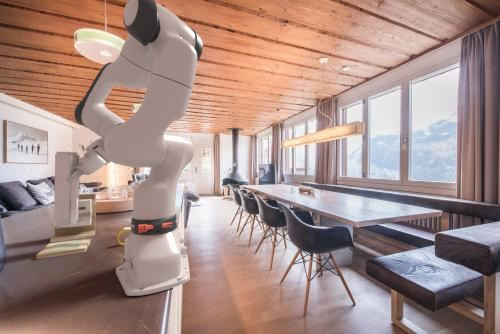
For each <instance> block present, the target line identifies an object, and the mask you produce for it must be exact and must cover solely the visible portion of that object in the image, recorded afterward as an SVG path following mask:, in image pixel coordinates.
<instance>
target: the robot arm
mask: <svg viewBox="0 0 500 334" xmlns="http://www.w3.org/2000/svg"><path fill="white" fill-rule="evenodd" d="M122 15H123V16H122V17H123V18H122V20H123V24H124V25H123V26H124V27H125V29H126V32H127V33H128V36H127V38H126V40H125V41H124V43H123V45H122V47H121V49H120V53H119V55H118V56H117V58H116V59H115V60H114V61H113V62H107V63H105V64H104V66H102V67H101V69H100V70H99V72H98V73H97V75H96V76H95V78H94V80H93V82H91V84H90V87H88V90H87V92H86V93H85V94H84V97H83V98H82V99H81V100H80V101H79V103H78V104H76V106H75V108H74V112H73V113H74V114H73V115H74V119H75V121H76V122H77V123H78V124H79V125H82V126H83V127H84V128H86V129H88V130H89V131H91V132H93V133H94V134H96V135H97V136H99V137H100V138H98V139H96V140H93V142H92V143H90V144H89V145H87V146H86V147H85V148H84V150H85V153H84V154H83V156H81V157H80V163H79V164H78V165H77V166H76V169H77V170H76V171H75V172H74V173H73V174H72V175H70V176H69V177H67V178H66V179H65V180H66V181H67V182H69V183H71V182H73V181H74V180H75V179H77V178H79V179H80V178H81V177H82V176H90V175H92V174H94V173H95V172H97V171H98V170H100V169H101V168H102V167H104V166H107V165H108V164H110V163H113V164H115V165H119V166H124V167H129V168H150V171H149V174H148V176H147V178H146V179H145V180H144V181H142V182H141V183H138V184H137V185H136V186H135V188H134V190H133V193H132V194H133V195H132V199H133V200H132V217H131V218H130V219H131V220H130V227H131V230H130V231H131V233H130V234H129V235H128V236H127V237H126V238H125V240H124V243H125V245H124V257H123V264H122V265H119V266H117V267H116V268H115V275H116V276H117V279H118V280H119V282H120V284H121V287H122V289H123V291H124V294H125V295H126V296H128V297H129V296H130V297H131V296H132V297H133V296H135V297H136V296H145V295H151V294H155V293H159V292H163V291H168V290H169V289H170V290H171V289H173V288H177V287H179V286H181V285H183V284H185V283H187V282H189V280H191V275H190V274H191V273H190V272H191V271H190V266H189V265H190V264H189V256H188V247H187V246H186V245H185V246H184V245H183V246H181V244H185V243H184V238H183V237H182V238H181V231H180V230H179V229H178V218H177V214H176V193H177V186H178V182H179V180H180V177H181V174H182V173H183V171H184V169H185V168H186V167H187V166H188V165H189V164H190V163H191V162H192V160H193V158H194V154H195V148H194V144H193V142H192V141H191V140H190V139H189V138H188V137H186V136H184V135H181V134H178V133H176V132H171V131H170V132H169V131H167V129H168V127H170V125H172V123H174V122H176V121H178V120H181V119H183V118H184V117H185V115H186V114H187V111H188V107H189V103H190V100H191V97H192V96H191V95H192V92H193V88H194V83H195V79H196V75H197V68H198V67H197V66H198V62H199V60H200V59H201V57H202V54H203V48H204V44H203V40H202V38H201V36H200V35H199V34H198V32H196V31H195V30H194V28H191V27H190V26H189V25H187V24H186V23H185V22H184V21H183V20H182V19H180V18H179V17H178V16H177V15H176V14H175V13H174V12H172V11H171V10H170V9H168V8H166V7H165V6H163V5H161V4H159V3H158V2H156V1H155V0H127V2H126V4H125V6H124V10H123V14H122ZM116 86H121V87H125V88H129V89H136V90H138V89H139V90H140V89H145V88H146V90H145V94H144V96H143V97H144V98H143V99H142V102H141V104H140V106H139V108H138V109H137V110H136V111H135V113H134V114H132V116H131V117H129V119H127V120H124V119H123V118H122V117H121V116H119V115H117V114H116V113H114V112H112V111H111V110H110V109H108V107H107V106H106V105H105V101H106V99H107V98H108V96H109V95H110V93H111V91H112V90H113V88H114V87H116Z"/></svg>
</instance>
